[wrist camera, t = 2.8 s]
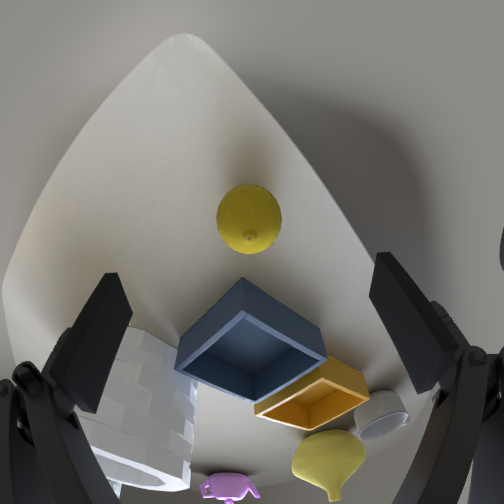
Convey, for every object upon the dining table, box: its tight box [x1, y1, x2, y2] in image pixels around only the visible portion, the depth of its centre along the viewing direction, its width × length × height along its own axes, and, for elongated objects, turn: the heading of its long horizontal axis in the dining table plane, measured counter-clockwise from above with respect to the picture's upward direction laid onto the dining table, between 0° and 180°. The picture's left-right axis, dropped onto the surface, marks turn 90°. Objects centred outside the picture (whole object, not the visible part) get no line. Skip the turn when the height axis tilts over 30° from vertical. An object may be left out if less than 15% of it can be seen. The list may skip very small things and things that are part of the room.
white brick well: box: [73, 326, 198, 491], centre depth 32 cm, size 25×24×19 cm
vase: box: [292, 429, 366, 502], centre depth 49 cm, size 18×18×19 cm
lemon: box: [216, 184, 282, 254], centre depth 24 cm, size 6×6×8 cm
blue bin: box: [174, 278, 328, 404], centre depth 34 cm, size 14×14×6 cm
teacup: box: [354, 390, 410, 440], centre depth 45 cm, size 14×11×8 cm
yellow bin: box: [254, 354, 371, 431], centre depth 41 cm, size 14×14×6 cm
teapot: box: [199, 473, 260, 504], centre depth 71 cm, size 22×16×12 cm
